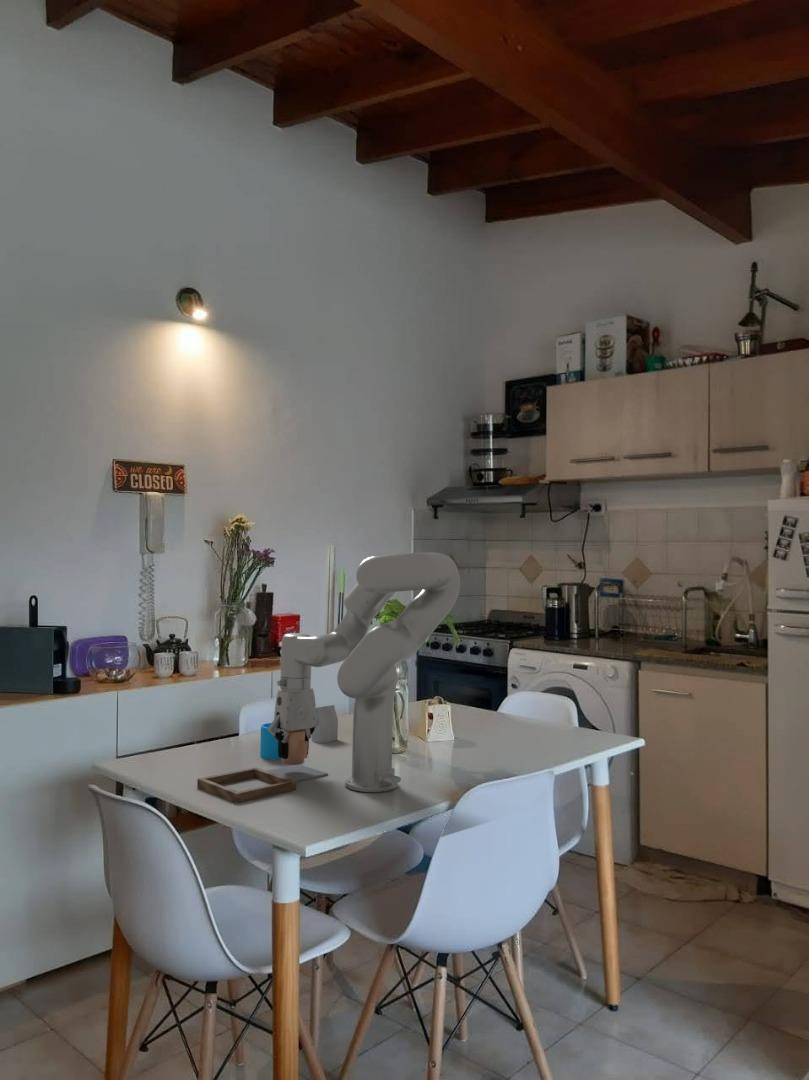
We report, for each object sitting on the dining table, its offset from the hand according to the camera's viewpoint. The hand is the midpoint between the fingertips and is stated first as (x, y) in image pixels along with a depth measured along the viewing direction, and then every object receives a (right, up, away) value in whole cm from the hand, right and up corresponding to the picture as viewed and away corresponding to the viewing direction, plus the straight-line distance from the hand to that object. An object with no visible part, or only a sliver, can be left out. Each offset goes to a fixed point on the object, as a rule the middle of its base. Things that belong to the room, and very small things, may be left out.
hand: (293, 755), depth 222 cm
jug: (+1, -2, -1) cm, 2 cm away
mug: (-6, -5, +18) cm, 19 cm away
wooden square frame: (-9, -5, -13) cm, 17 cm away
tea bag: (+4, -5, +39) cm, 39 cm away
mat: (0, -5, 0) cm, 5 cm away
